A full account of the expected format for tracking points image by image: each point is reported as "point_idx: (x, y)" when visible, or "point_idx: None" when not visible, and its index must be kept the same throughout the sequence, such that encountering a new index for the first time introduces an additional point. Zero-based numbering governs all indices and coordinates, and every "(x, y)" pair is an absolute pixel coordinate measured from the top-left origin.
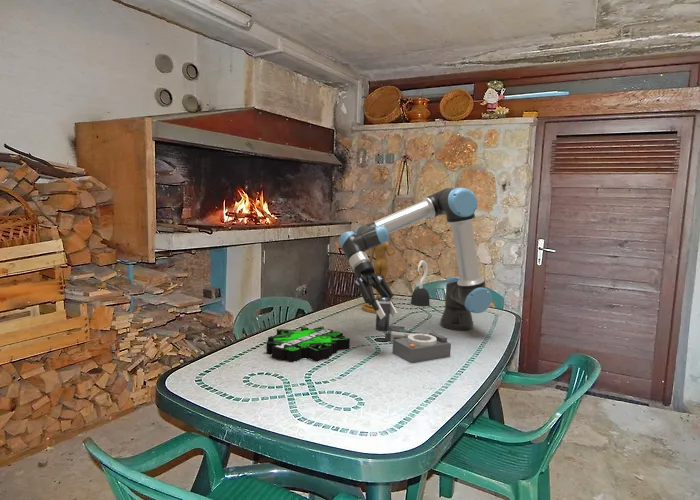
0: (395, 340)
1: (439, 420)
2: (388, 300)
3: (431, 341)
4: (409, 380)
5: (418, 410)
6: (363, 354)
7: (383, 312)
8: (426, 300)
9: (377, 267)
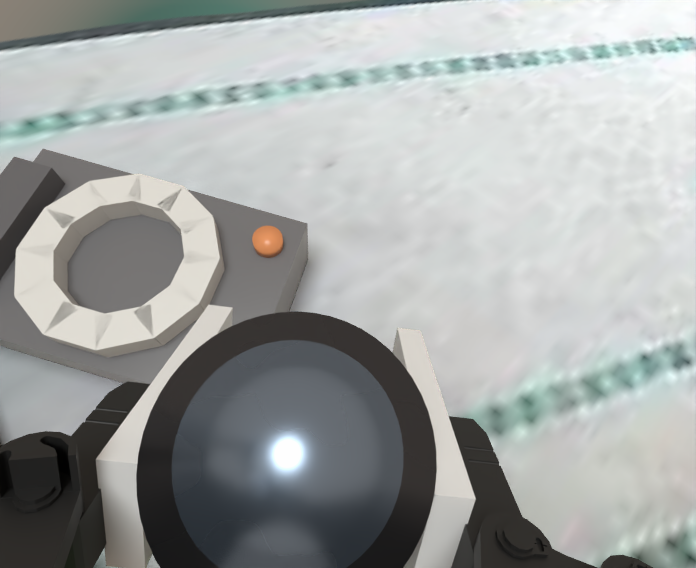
0: None
1: (578, 3)
2: (306, 318)
3: (153, 180)
4: (465, 162)
5: (590, 50)
6: None
7: (412, 348)
8: None
9: None
